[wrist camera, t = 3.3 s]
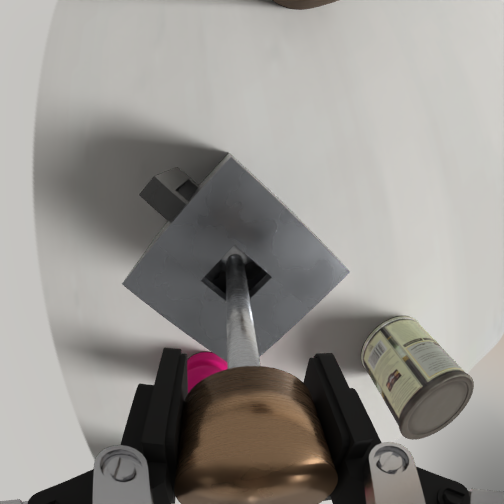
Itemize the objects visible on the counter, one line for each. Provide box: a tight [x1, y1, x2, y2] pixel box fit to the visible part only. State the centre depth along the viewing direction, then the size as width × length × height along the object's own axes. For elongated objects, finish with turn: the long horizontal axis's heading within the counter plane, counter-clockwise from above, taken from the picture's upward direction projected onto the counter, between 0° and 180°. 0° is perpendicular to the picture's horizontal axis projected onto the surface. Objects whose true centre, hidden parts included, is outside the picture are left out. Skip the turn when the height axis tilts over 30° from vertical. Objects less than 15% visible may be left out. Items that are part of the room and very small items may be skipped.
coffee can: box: [361, 316, 474, 439], centre depth 35 cm, size 10×10×14 cm
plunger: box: [174, 245, 338, 504], centre depth 14 cm, size 7×7×17 cm
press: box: [122, 153, 350, 362], centre depth 26 cm, size 10×13×16 cm
